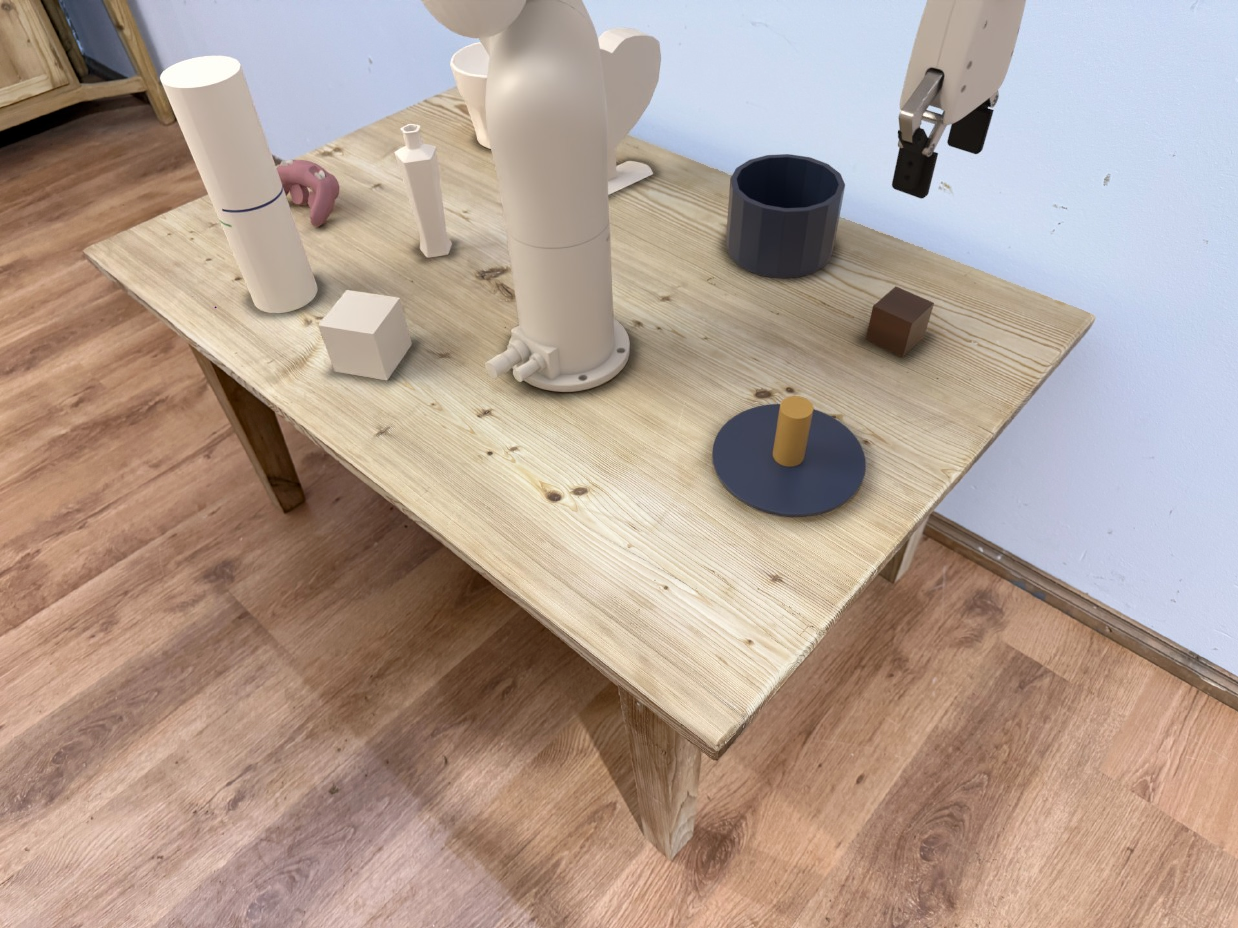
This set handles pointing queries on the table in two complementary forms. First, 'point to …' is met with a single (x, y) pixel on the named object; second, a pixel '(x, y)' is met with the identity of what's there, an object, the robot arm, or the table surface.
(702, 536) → the table surface
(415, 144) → the perfume bottle
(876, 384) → the table surface
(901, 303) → the block
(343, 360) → the white cube
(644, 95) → the heart sculpture
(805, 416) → the lid
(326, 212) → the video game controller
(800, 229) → the tin
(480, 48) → the cup
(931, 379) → the table surface
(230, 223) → the cylindrical container
